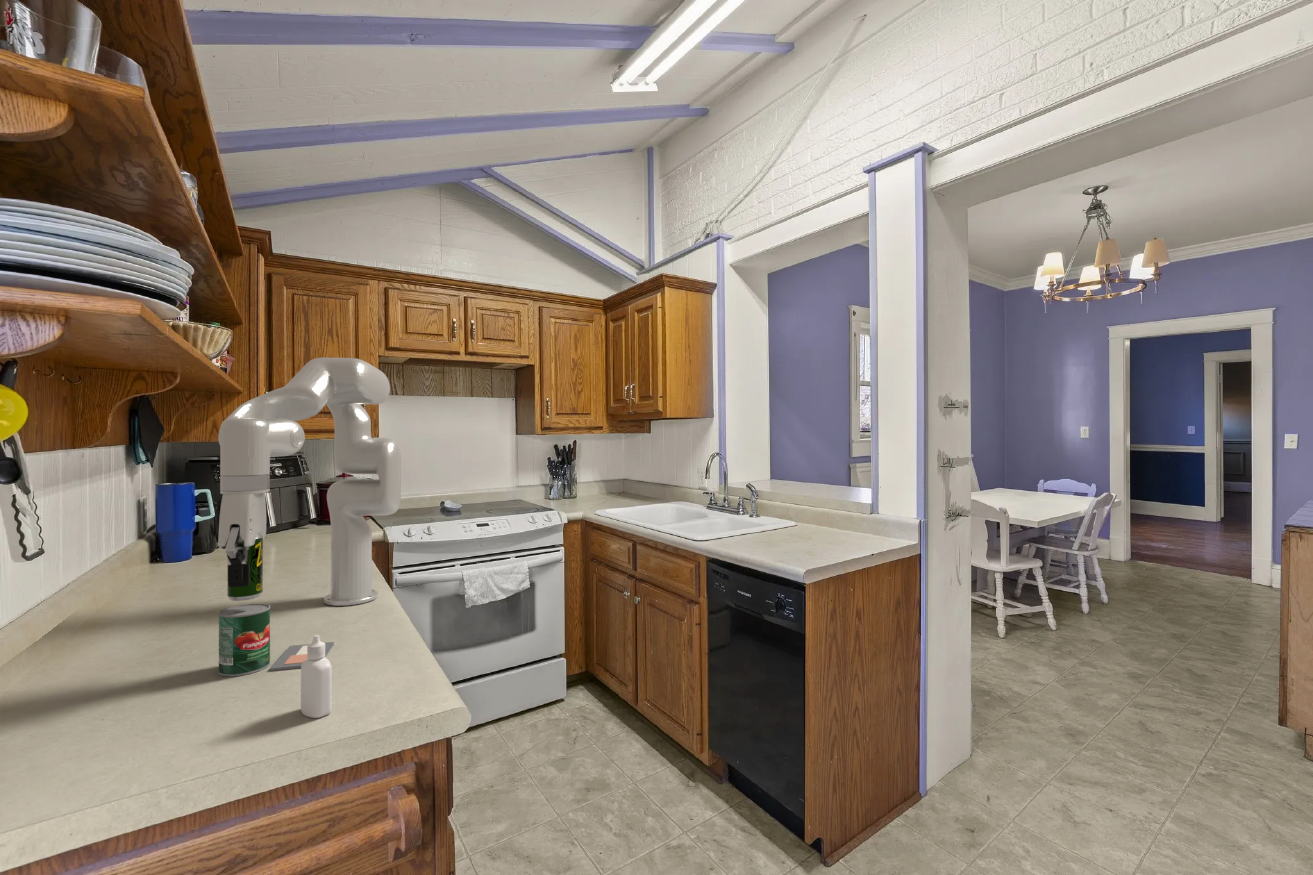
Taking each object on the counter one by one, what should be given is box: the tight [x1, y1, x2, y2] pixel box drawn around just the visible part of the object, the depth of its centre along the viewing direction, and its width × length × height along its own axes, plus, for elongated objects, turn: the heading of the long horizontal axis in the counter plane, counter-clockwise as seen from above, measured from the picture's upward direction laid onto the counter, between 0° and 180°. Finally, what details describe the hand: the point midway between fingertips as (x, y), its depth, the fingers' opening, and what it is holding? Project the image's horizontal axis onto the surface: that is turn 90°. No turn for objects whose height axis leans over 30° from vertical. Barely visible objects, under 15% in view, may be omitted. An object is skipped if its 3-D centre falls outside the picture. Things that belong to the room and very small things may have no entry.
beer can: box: [226, 532, 264, 602], centre depth 108 cm, size 5×5×12 cm
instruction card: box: [270, 641, 335, 672], centre depth 114 cm, size 12×8×1 cm, turn 17°
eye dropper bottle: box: [300, 634, 333, 719], centre depth 92 cm, size 4×6×12 cm
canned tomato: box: [218, 602, 271, 678], centre depth 108 cm, size 8×8×11 cm
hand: (245, 581), depth 108 cm, fingers closed on beer can, 5 cm apart
